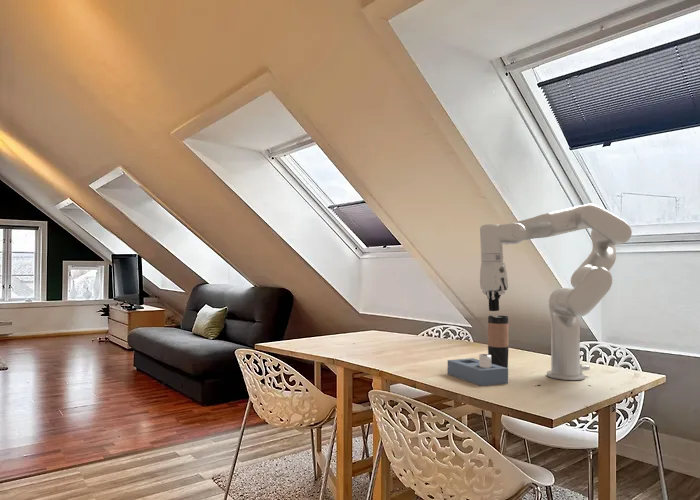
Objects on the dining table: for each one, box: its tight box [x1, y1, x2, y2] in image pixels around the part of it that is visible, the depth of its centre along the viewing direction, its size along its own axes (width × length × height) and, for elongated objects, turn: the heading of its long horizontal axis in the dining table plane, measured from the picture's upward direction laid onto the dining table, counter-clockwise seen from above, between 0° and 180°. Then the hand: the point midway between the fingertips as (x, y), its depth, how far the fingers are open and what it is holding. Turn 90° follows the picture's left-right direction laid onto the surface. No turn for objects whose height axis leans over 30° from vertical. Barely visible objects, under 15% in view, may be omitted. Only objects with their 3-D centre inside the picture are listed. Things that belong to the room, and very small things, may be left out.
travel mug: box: [487, 315, 510, 369], centre depth 203 cm, size 8×8×20 cm
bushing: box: [478, 353, 491, 369], centre depth 180 cm, size 4×4×9 cm
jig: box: [447, 357, 509, 387], centre depth 185 cm, size 11×20×5 cm, turn 22°
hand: (494, 310), depth 187 cm, fingers closed
